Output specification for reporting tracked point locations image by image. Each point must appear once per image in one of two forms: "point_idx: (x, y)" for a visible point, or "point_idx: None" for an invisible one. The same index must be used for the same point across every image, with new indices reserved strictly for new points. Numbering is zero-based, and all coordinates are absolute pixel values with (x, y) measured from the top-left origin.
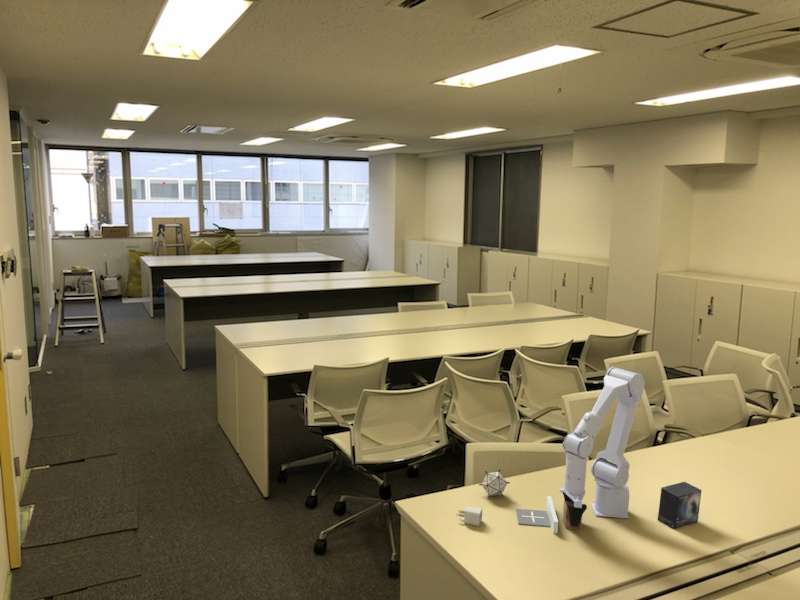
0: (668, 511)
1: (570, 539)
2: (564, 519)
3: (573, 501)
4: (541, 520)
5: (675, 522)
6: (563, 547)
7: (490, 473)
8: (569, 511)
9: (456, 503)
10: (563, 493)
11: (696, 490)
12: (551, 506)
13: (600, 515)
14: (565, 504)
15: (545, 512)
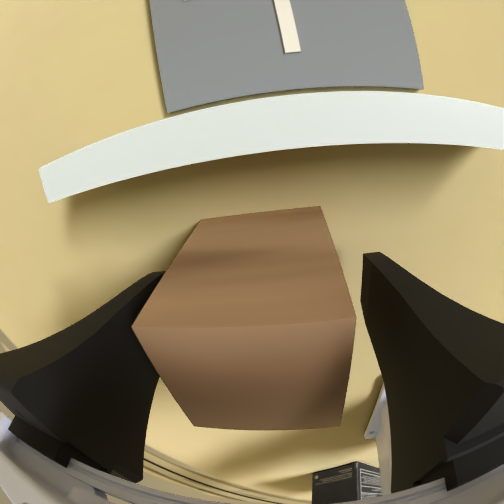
0: (330, 500)
1: (86, 248)
2: (240, 232)
3: (41, 452)
4: (235, 37)
5: (312, 487)
6: (22, 216)
7: None
8: (37, 345)
9: None
10: (461, 373)
11: None
12: (365, 112)
13: (382, 389)
14: (244, 330)
15: (397, 76)
